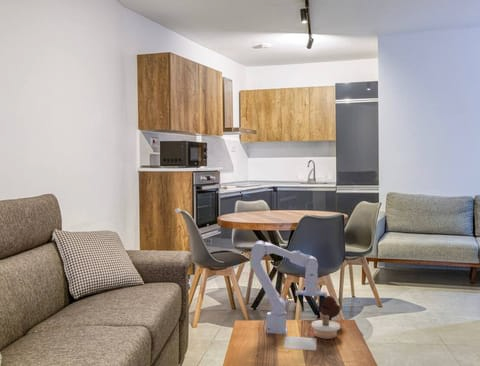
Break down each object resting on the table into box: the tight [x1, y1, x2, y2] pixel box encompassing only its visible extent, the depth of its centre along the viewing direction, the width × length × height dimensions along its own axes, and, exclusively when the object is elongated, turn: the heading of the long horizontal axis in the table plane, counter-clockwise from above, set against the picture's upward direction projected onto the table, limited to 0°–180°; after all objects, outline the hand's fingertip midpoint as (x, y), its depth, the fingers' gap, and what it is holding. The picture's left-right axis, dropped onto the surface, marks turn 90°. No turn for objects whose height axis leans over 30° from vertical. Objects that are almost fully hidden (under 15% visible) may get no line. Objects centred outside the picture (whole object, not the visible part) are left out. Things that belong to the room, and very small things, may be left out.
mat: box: [283, 335, 318, 351], centre depth 219 cm, size 14×14×1 cm
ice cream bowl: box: [319, 295, 342, 321], centre depth 243 cm, size 11×11×15 cm
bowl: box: [314, 329, 338, 340], centre depth 228 cm, size 10×10×5 cm
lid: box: [311, 314, 341, 331], centre depth 227 cm, size 13×13×5 cm
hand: (311, 311), depth 233 cm, fingers open, 7 cm apart
